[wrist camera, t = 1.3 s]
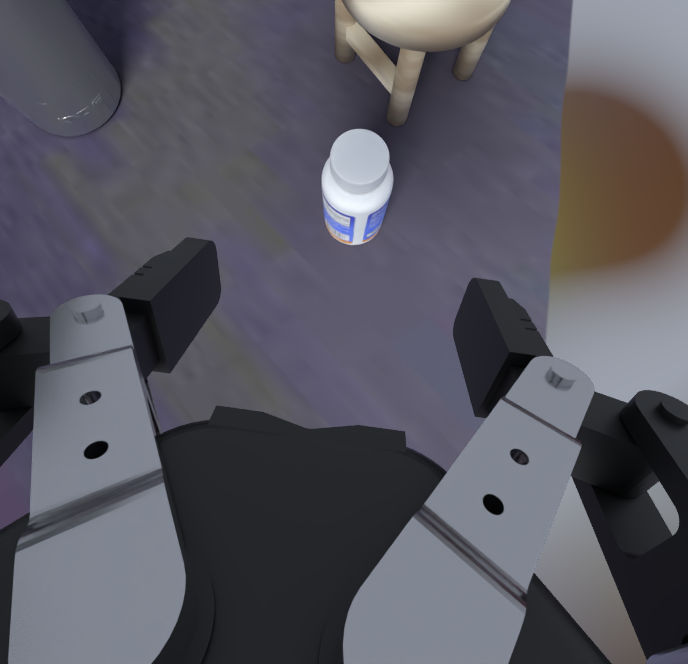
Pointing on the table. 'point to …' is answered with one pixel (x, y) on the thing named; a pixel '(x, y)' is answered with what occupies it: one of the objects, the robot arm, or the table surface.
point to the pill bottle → (356, 186)
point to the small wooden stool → (413, 39)
